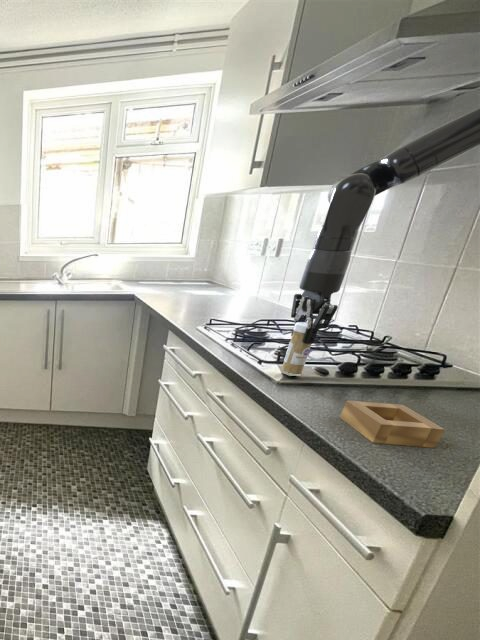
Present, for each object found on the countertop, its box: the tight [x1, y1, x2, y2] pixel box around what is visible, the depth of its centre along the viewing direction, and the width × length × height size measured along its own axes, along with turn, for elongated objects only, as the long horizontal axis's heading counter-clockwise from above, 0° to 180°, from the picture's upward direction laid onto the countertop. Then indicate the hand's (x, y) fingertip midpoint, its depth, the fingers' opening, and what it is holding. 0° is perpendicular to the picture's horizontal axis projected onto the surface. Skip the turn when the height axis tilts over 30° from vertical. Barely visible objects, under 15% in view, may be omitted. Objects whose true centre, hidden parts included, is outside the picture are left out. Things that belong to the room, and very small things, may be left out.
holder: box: [339, 400, 446, 449], centre depth 81 cm, size 10×10×4 cm
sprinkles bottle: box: [281, 321, 312, 375], centre depth 104 cm, size 5×5×13 cm
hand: (301, 339), depth 103 cm, fingers closed on sprinkles bottle, 4 cm apart
